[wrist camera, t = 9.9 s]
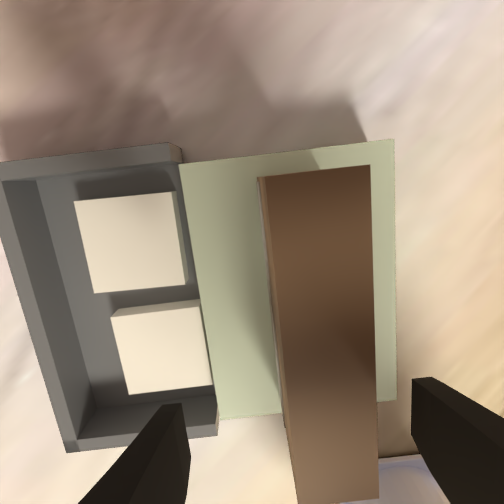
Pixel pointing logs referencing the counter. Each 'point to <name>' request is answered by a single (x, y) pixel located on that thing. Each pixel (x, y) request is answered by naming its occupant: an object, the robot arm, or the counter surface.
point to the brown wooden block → (324, 327)
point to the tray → (90, 291)
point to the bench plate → (254, 271)
